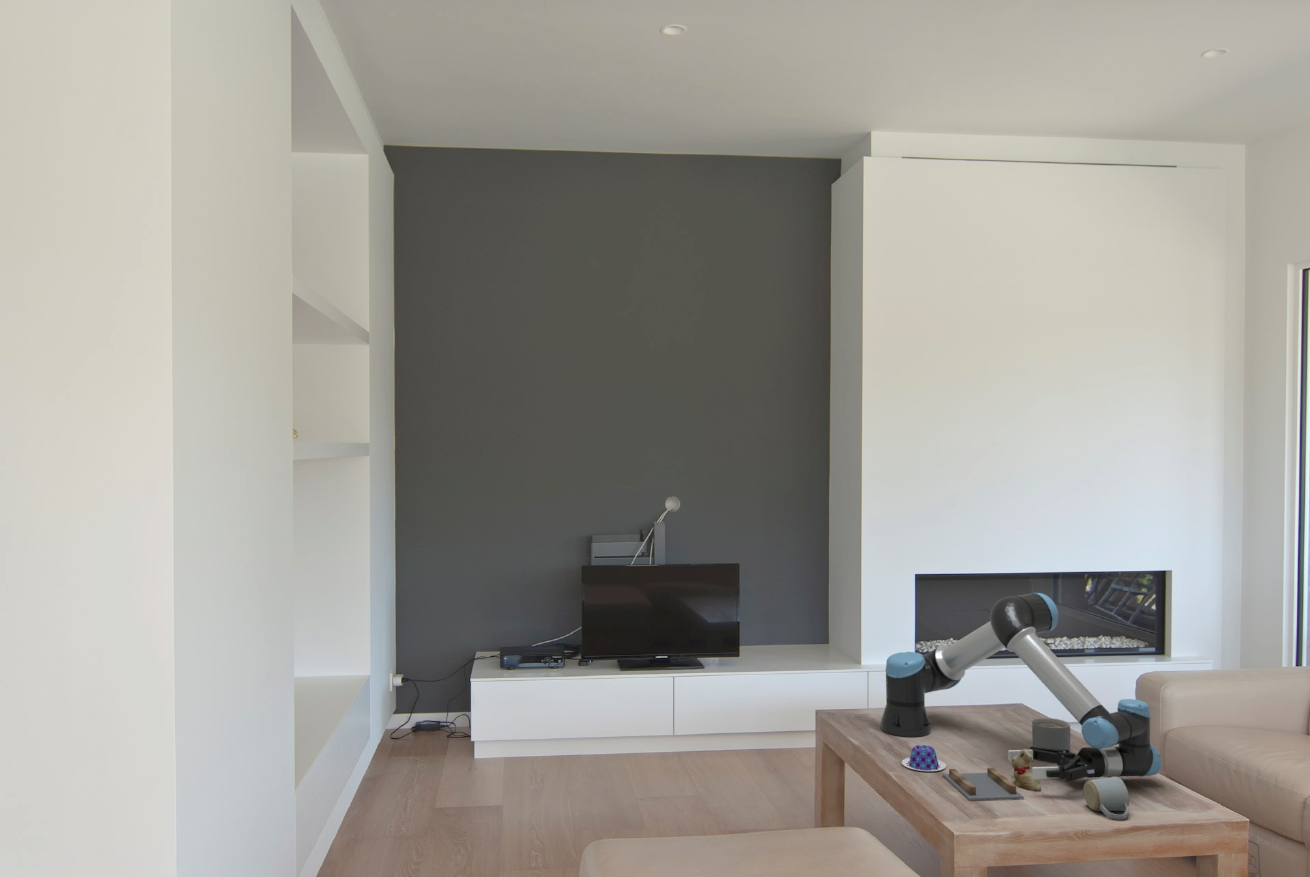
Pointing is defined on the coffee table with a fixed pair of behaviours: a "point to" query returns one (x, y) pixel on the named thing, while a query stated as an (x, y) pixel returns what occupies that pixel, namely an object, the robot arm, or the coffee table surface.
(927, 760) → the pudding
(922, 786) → the coffee table surface
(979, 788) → the mat
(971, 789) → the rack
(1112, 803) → the ceramic mug
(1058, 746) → the coffee mug
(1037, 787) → the chocolate bunny
